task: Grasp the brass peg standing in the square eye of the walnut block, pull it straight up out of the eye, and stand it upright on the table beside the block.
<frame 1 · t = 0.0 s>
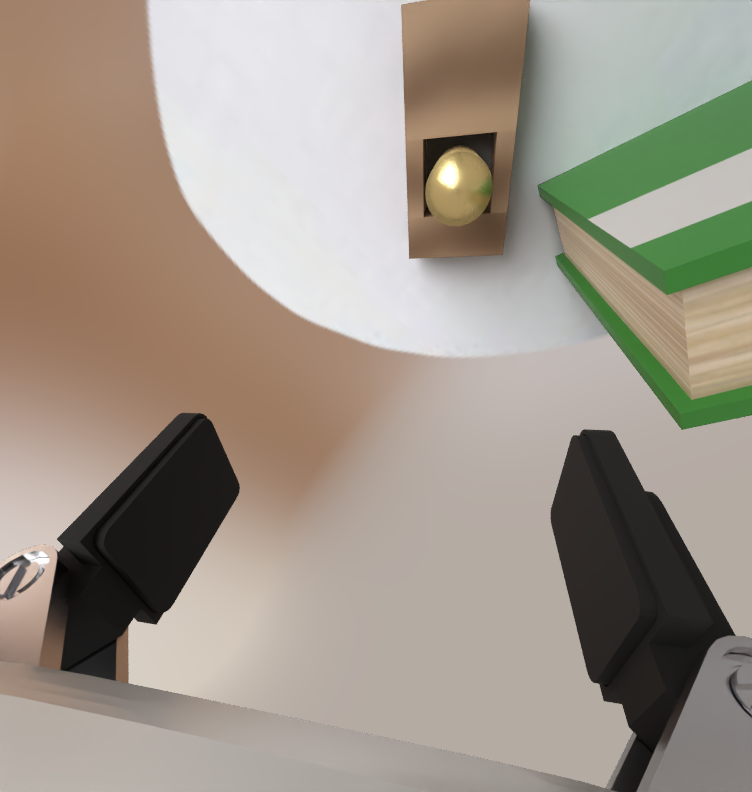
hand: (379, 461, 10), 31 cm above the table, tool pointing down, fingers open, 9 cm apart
eye block: (458, 145, 31), on the table
peg: (457, 172, 32), resting in eye block
hardback book: (662, 176, 30), on the table
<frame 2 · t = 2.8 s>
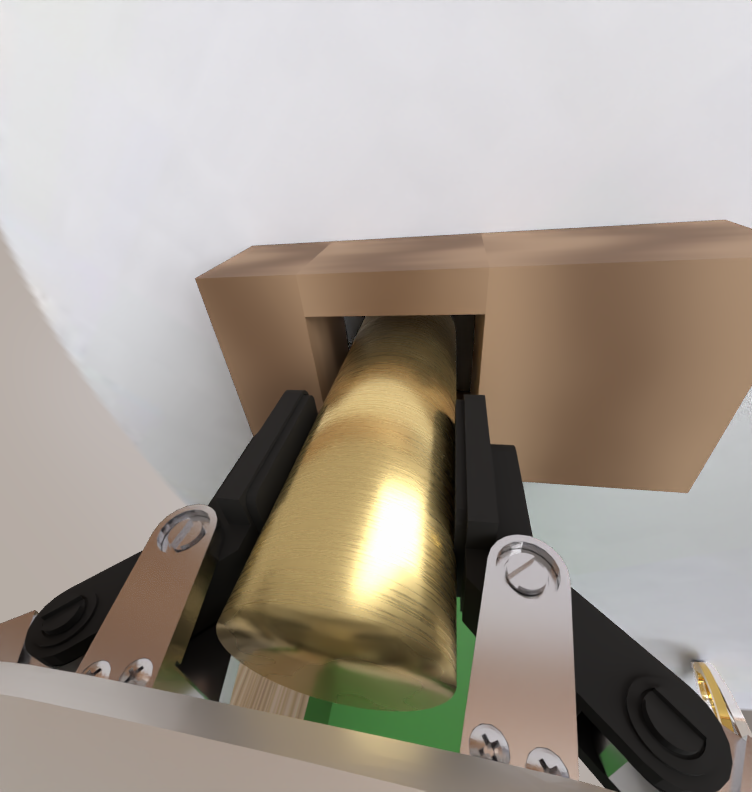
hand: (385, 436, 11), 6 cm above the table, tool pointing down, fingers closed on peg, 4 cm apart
eye block: (456, 337, 15), on the table
peg: (408, 337, 16), resting in eye block, touching gripper
ring: (696, 659, 27), on the table
hardback book: (397, 550, 25), on the table
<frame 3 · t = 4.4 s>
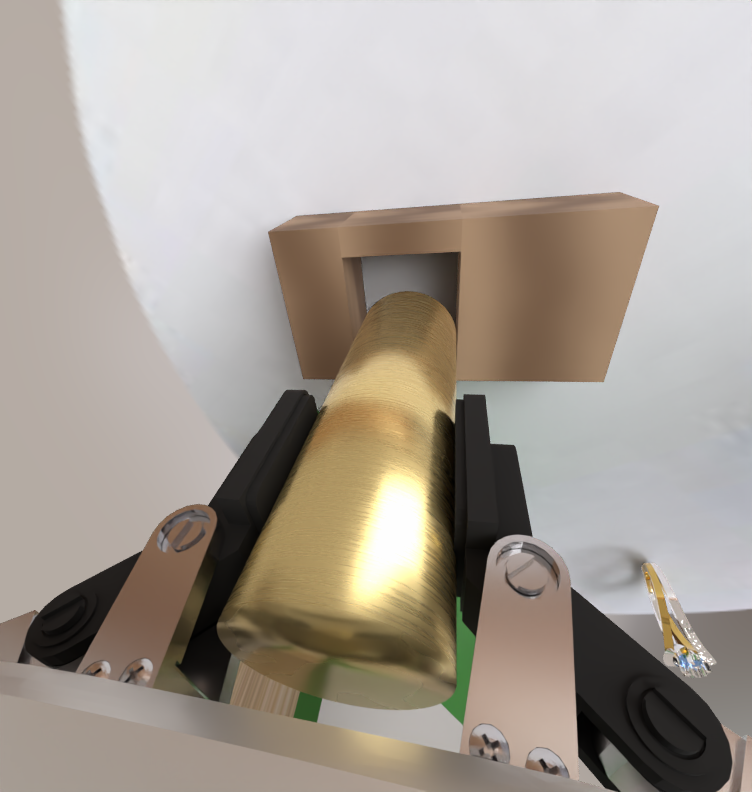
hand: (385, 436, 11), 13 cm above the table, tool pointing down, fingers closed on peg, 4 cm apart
eye block: (444, 283, 21), on the table
peg: (408, 337, 16), point 7 cm above the table, touching gripper
ring: (645, 564, 33), on the table
hardback book: (399, 475, 31), on the table
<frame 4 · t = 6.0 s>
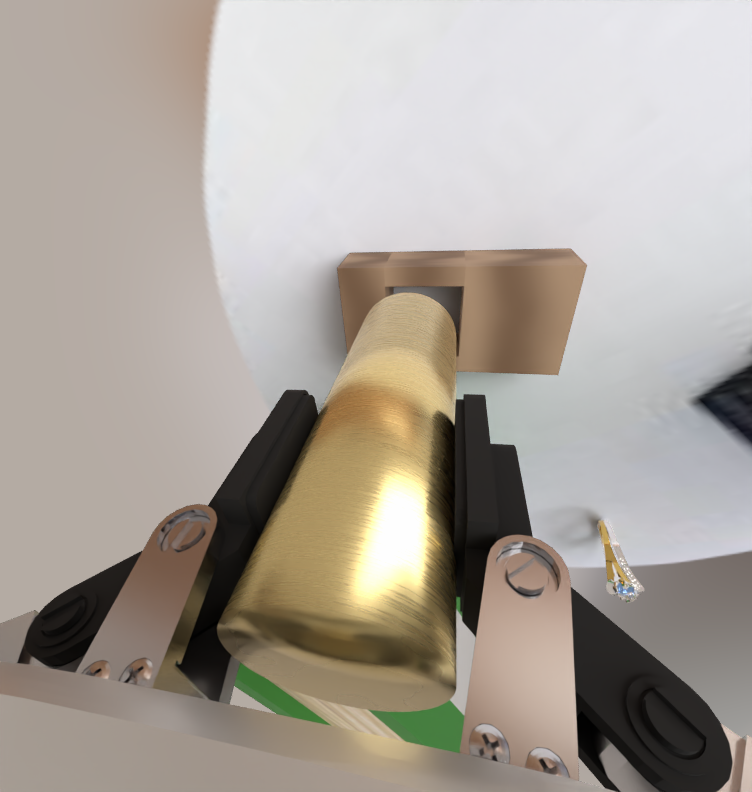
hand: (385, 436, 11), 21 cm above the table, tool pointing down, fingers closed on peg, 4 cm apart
eye block: (451, 302, 30), on the table
peg: (408, 338, 16), point 15 cm above the table, touching gripper
ring: (600, 523, 42), on the table
hardback book: (410, 446, 40), on the table
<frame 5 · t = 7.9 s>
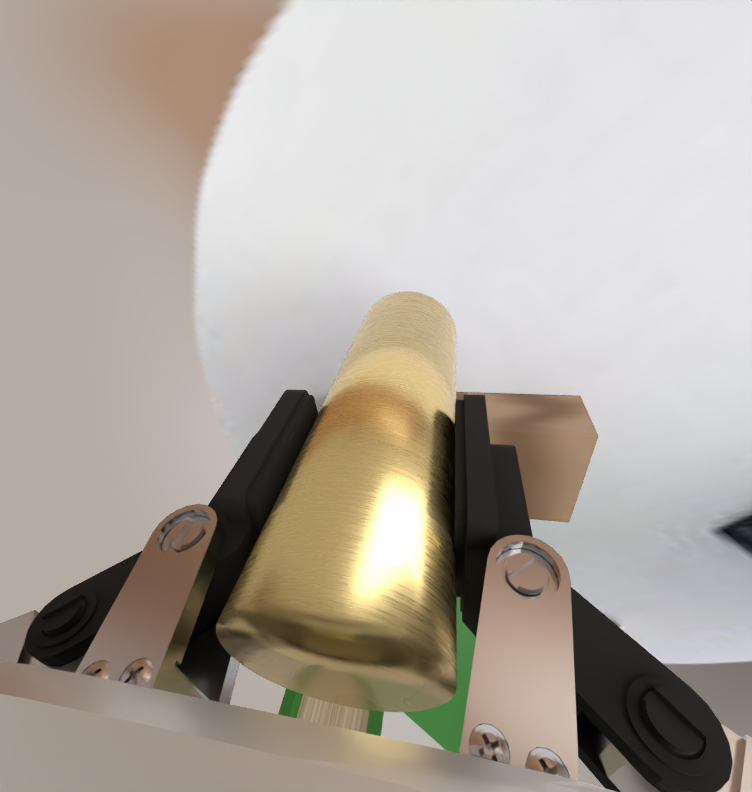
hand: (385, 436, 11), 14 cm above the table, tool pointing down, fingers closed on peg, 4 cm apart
eye block: (454, 435, 28), on the table
peg: (408, 337, 16), point 8 cm above the table, touching gripper
hardback book: (415, 550, 38), on the table
when the fingers open (8 cm above the table, at t = 9.4 s): peg drops 1 cm, on the table.
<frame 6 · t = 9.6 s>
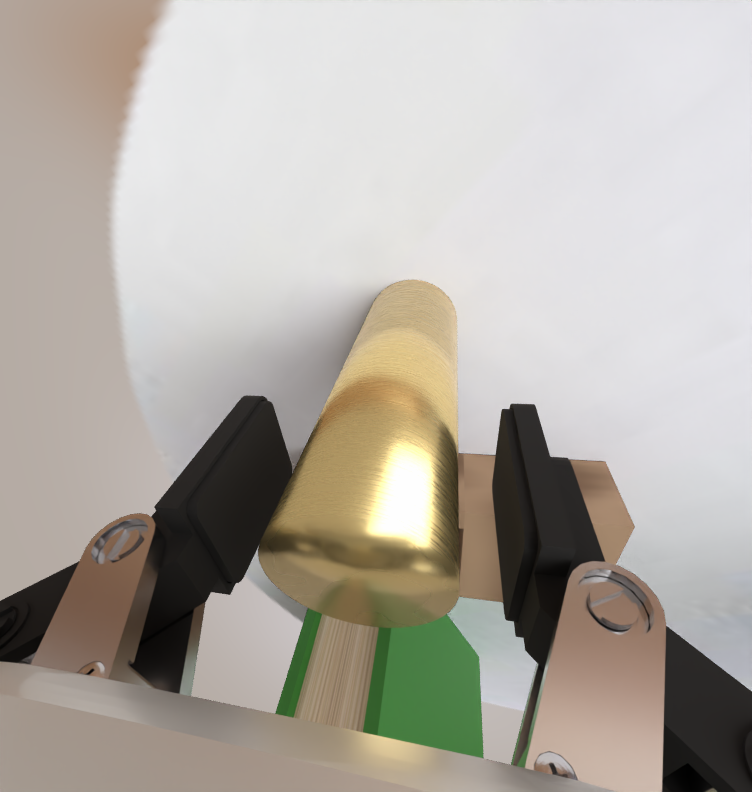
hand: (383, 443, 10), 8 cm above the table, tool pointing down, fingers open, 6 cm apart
eye block: (449, 499, 23), on the table
peg: (412, 323, 17), on the table
hardback book: (406, 611, 33), on the table
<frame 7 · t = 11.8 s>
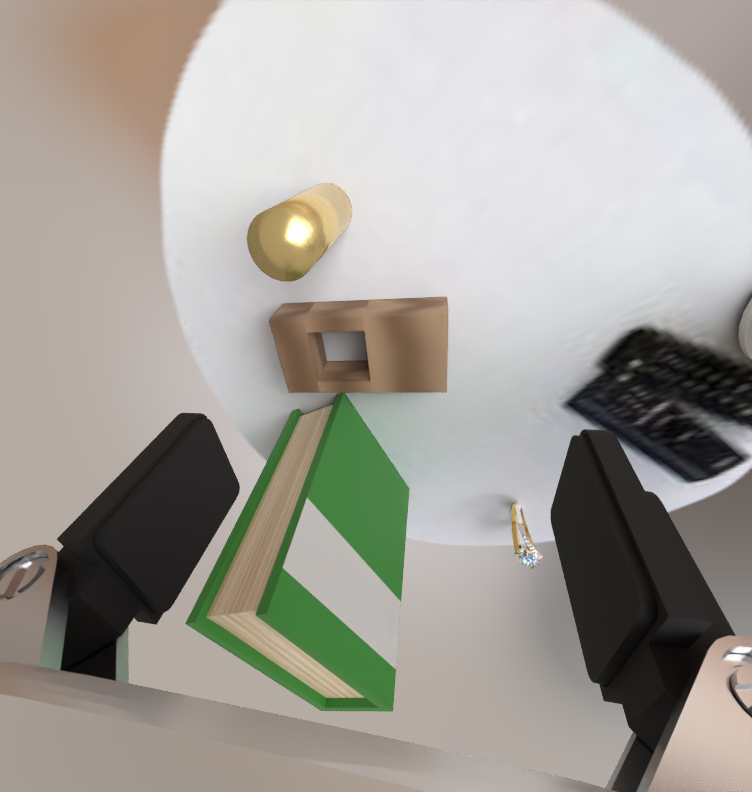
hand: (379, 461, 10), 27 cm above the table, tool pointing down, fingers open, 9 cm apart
eye block: (366, 337, 38), on the table
peg: (328, 210, 31), on the table
ring: (517, 506, 50), on the table
hardback book: (354, 451, 48), on the table
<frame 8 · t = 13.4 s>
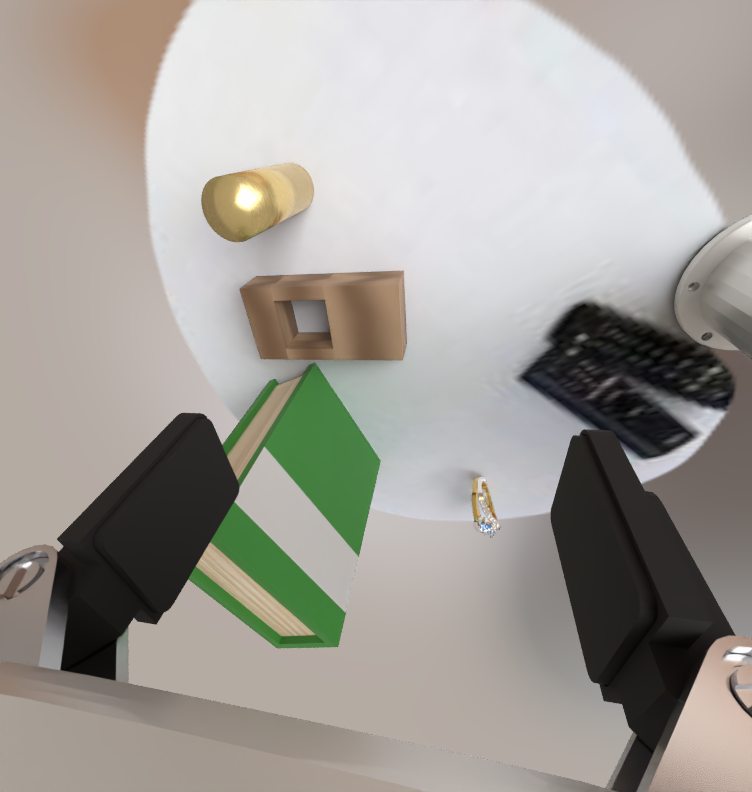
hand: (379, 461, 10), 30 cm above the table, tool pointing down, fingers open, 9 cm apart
eye block: (333, 310, 41), on the table
peg: (293, 188, 34), on the table
ring: (483, 481, 52), on the table
hardback book: (328, 422, 51), on the table
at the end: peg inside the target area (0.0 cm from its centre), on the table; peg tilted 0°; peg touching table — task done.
